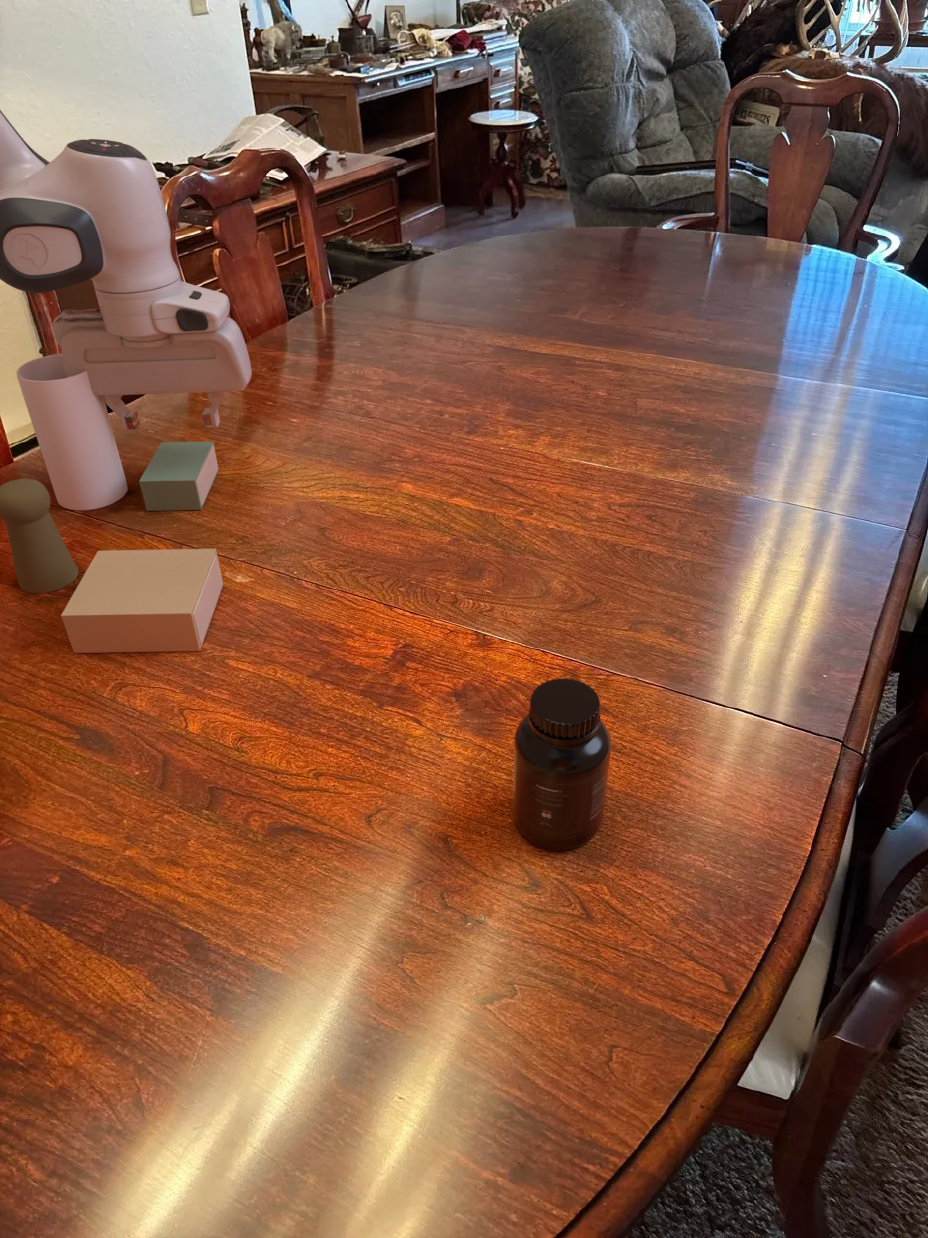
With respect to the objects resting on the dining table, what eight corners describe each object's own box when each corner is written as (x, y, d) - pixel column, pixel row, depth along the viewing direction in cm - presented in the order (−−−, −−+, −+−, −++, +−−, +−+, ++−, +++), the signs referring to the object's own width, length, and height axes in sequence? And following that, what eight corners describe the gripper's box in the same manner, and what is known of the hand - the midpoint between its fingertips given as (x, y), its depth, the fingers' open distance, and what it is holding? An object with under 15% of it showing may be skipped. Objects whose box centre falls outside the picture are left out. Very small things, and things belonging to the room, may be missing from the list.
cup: (72, 517, 107) (30, 387, 98) (47, 491, 113) (5, 365, 103) (138, 494, 112) (105, 367, 102) (111, 470, 117) (77, 347, 107)
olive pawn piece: (90, 570, 98) (61, 479, 92) (44, 599, 94) (10, 506, 88) (52, 555, 101) (21, 465, 94) (6, 583, 97) (-30, 491, 90)
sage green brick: (146, 511, 108) (138, 480, 106) (167, 470, 116) (160, 441, 114) (201, 510, 108) (195, 479, 106) (219, 469, 116) (213, 441, 114)
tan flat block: (73, 653, 87) (60, 615, 85) (108, 586, 96) (97, 550, 93) (201, 651, 87) (192, 613, 84) (224, 584, 96) (216, 548, 93)
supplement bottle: (495, 827, 70) (496, 710, 62) (540, 771, 74) (546, 656, 67) (575, 868, 66) (586, 749, 59) (618, 807, 71) (632, 690, 64)
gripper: (37, 320, 97) (74, 441, 105) (231, 314, 96) (253, 435, 105) (58, 301, 102) (92, 417, 110) (242, 295, 101) (262, 412, 110)
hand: (172, 426), depth 107 cm, fingers open, 8 cm apart
